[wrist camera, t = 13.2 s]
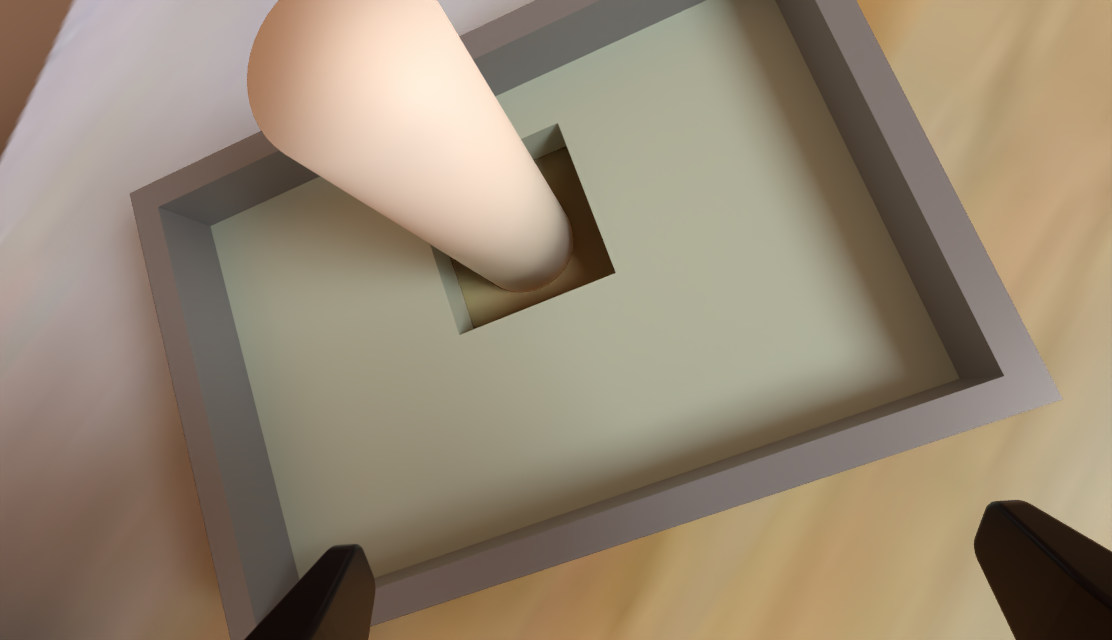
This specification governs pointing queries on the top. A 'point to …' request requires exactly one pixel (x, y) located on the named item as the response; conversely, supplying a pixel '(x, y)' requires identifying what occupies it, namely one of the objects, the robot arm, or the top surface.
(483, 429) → the tray
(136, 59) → the top surface
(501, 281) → the peg
